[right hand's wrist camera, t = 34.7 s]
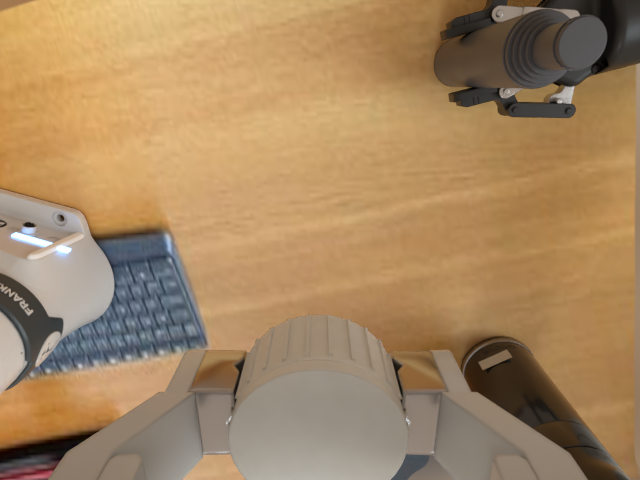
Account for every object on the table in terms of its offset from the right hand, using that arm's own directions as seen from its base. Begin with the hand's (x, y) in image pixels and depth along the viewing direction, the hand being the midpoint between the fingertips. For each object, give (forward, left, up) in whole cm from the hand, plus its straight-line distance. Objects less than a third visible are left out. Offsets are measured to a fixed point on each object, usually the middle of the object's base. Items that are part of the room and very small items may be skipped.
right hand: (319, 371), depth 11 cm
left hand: (+6, +13, -31) cm, 34 cm away
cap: (0, 0, +2) cm, 2 cm away
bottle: (+8, +15, -37) cm, 41 cm away
